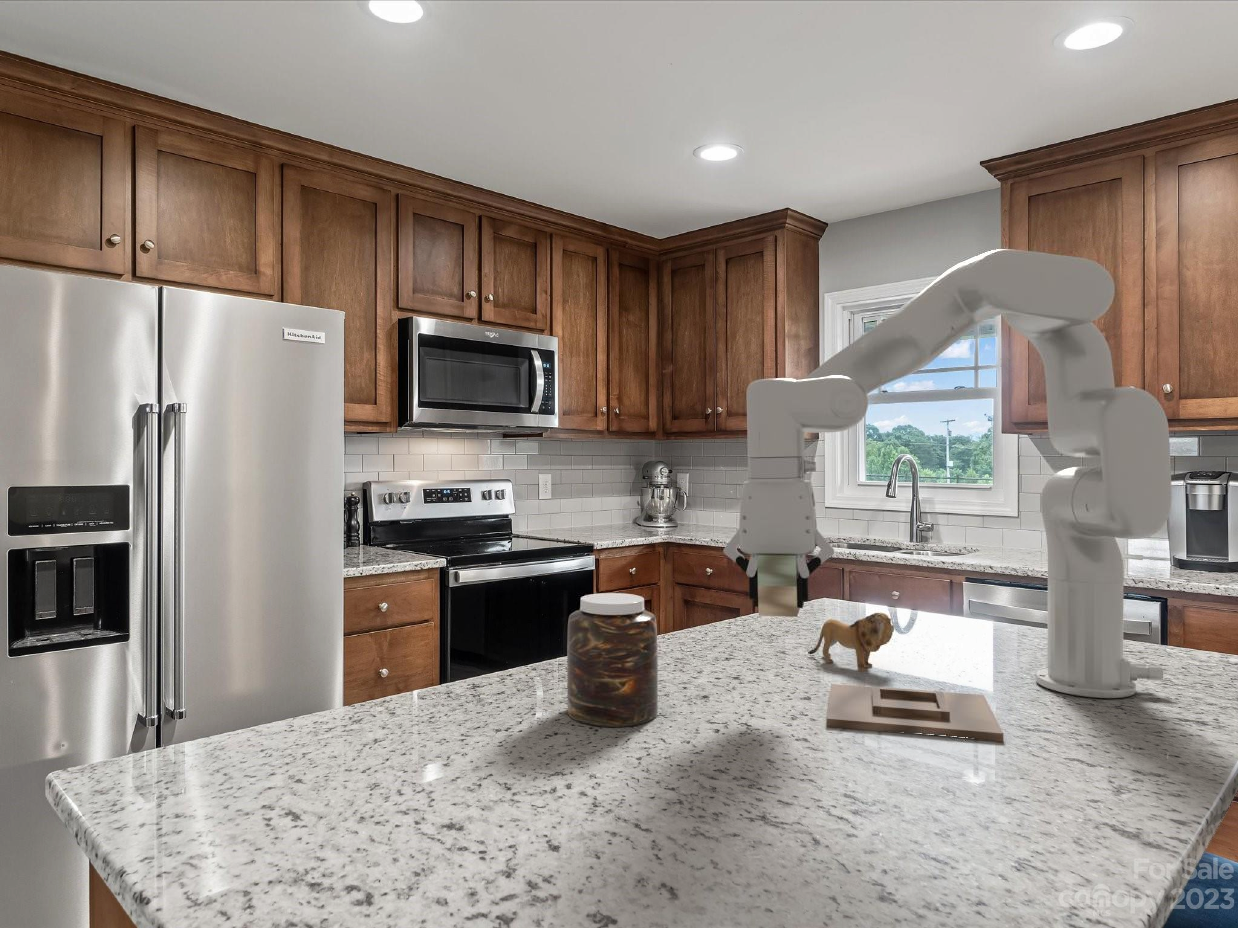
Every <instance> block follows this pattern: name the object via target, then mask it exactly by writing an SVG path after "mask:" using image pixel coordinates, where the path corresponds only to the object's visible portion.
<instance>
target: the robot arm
mask: <svg viewBox="0 0 1238 928" xmlns="http://www.w3.org/2000/svg"><path fill="white" fill-rule="evenodd" d="M1115 287H1116V286H1115V282H1114V279H1113V277H1112V275H1111V274H1110V273H1109V270H1108V269H1106V268H1105V267H1104V266H1102V265H1101V264H1100V263H1098V262H1096V261H1093V260H1091V259H1088V258H1085V257H1077V256H1070V255H1062V254H1055V253H1054V254H1052V253H1047V252H1046V253H1045V252H1039V251H1031V250H1023V249H1022V250H1021V249H1008V248H1006V249H1002V248H1001V249H996V250H995V249H994V250H991V251H987V252H984V253H982V254H979V255H978V256H974V257H972V258H970V259H967V260H965V261H963V262H960V263H958V264H956V265H954V266H953V267H951V268H949V269H947V270H946V271H945V272H944V273H943V274H941V275H940V276H939V277H938V278H936V279H935V280H933V281H932V282H931V283H930V284H929V285H927V286H926V287H924V288H923V289H922V290H921V291H920V292H919V293H917V294H916V295H915V296H914V297H912V298H911V299H910V300H909V301H908V302H906V303H905V304H903V305H902V306H901V307H899V308H898V309H897V310H895V311H894V312H893V313H891V314H890V315H889V316H888V317H886V318H885V319H884V320H883V321H881V322H879V323H878V324H876V325H875V326H874V327H872V328H871V329H868V330H867V331H866V332H865V333H864V334H862V335H861V336H860V337H858V338H857V339H855V341H853V342H852V343H850V344H849V345H847V346H846V347H844V348H842V349H841V350H840V351H838V352H837V353H835V354H833V356H831V357H830V358H829V359H827V360H826V361H825V362H823V363H822V364H821V365H820V366H818V367H817V368H816V369H814V370H813V371H812V372H810V374H808V375H807V376H806V377H804V378H803V379H797V380H796V379H794V378H788V377H787V378H785V377H780V378H778V377H777V378H762V379H757V380H754V381H752V382H750V383H749V385H748V386H747V389H746V428H747V429H746V430H747V431H746V433H747V471H748V473H747V475H748V476H747V477H748V478H747V479H748V480H746V481H744V482H743V485H742V489H741V495H740V496H741V497H740V508H739V520H738V521H739V526H738V530H737V531H736V532H735V534H734V535H733V537H731V539H730V541H728V543H727V544H726V545H725V547H724V548H723V551H722V553H723V554H725V556H727V557H728V558H730V560H732V561H733V562H734V563H736V565H737V566H738V567H739V568H740V569H741V570H743V572H744V573H745V574H746V576H747V577H748V578H749V579H748V580H749V581H748V585H749V586H748V587H749V588H748V589H749V600H753V607H755V608H758V568H757V555H796V563H797V566H798V569H799V573H798V578H797V607H798V608H800V609H803V608H804V605H805V602H808V601H809V597H810V596H809V592H810V591H809V576H811V574H813V573H814V571H816V569H818V568H819V567H820V565H822V564H823V563H824V562H826V561H827V560H828V559H830V558H831V557H833V556H834V553H835V549H834V547H832V545H831V543H829V542H828V541H827V539H826V538H825V537H824V536H823V534H822V533H821V532H820V531H819V530H818V528H817V511H816V503H815V501H816V500H815V495H814V494H815V493H814V489H813V485H812V481H811V480H806V475H807V474H808V473H809V474H810V473H811V472H815V473H816V472H817V462H816V461H810V460H807V459H806V457H805V455H806V454H805V452H806V451H805V433H807V434H819V433H839V432H840V433H841V432H844V431H847V430H850V429H852V428H854V427H856V426H857V425H858V424H860V423H861V421H862V420H863V419H864V417H865V416H866V414H867V412H868V407H869V400H868V399H869V398H868V394H870V393H872V392H873V391H875V390H877V389H879V388H881V387H882V386H885V385H887V384H889V383H891V382H895V381H897V380H900V379H904V378H906V377H908V376H909V375H911V374H913V373H915V372H918V371H919V370H922V369H923V368H924V367H926V366H928V365H930V363H932V362H933V361H934V360H935V359H937V358H938V357H939V356H941V354H943V353H944V352H945V351H946V350H947V349H949V348H950V347H952V345H954V344H955V343H956V342H957V341H958V340H960V339H961V338H963V337H964V336H965V335H966V334H968V333H969V332H970V331H972V330H973V329H974V328H975V327H977V326H978V325H979V324H980V323H982V322H984V321H985V320H987V319H990V318H993V317H994V318H995V317H997V316H1000V315H1001V316H1002V318H1003V320H1004V321H1005V323H1006V324H1007V325H1008V326H1009V327H1010V328H1012V330H1014V331H1015V332H1017V333H1019V334H1020V335H1021V336H1023V337H1024V338H1025V339H1026V340H1028V341H1029V342H1030V343H1031V344H1032V345H1033V346H1034V348H1035V349H1036V351H1037V352H1038V354H1039V355H1040V357H1041V360H1042V364H1043V367H1044V377H1045V387H1046V388H1045V389H1046V390H1045V391H1046V409H1047V410H1046V411H1047V413H1046V415H1047V429H1048V436H1049V441H1050V443H1051V445H1052V447H1053V448H1054V449H1055V450H1056V451H1057V452H1058V453H1060V454H1062V455H1065V456H1068V457H1073V458H1074V457H1075V458H1076V457H1077V458H1098V459H1099V458H1100V465H1101V466H1073V467H1069V468H1065V469H1063V470H1060V471H1057V472H1056V473H1055V474H1053V475H1051V477H1049V478H1048V480H1047V481H1046V482H1045V484H1044V486H1043V488H1042V491H1041V495H1040V510H1041V516H1042V521H1043V525H1044V530H1045V536H1046V538H1045V539H1046V544H1047V545H1046V546H1047V548H1046V549H1047V639H1046V640H1047V642H1046V644H1047V653H1046V654H1047V663H1046V665H1047V667H1046V668H1042V669H1039V670H1038V671H1036V672H1035V682H1036V683H1037V684H1039V685H1040V686H1041V687H1044V688H1046V689H1049V690H1051V691H1055V692H1059V693H1063V694H1068V695H1071V696H1072V695H1073V696H1077V697H1085V698H1086V697H1087V698H1097V699H1118V698H1120V699H1121V698H1127V697H1131V696H1133V695H1134V694H1136V693H1137V684H1136V683H1135V682H1137V680H1138V679H1144V680H1150V681H1160V682H1161V681H1163V679H1164V671H1163V668H1162V666H1160V665H1159V666H1158V665H1147V664H1146V663H1141V662H1139V663H1138V662H1131V661H1130V660H1129V659H1127V658H1126V657H1125V656H1124V587H1125V586H1124V581H1125V577H1124V576H1125V569H1124V568H1125V566H1124V560H1123V557H1122V556H1123V555H1122V553H1121V549H1120V547H1119V544H1118V541H1117V538H1118V539H1124V540H1125V539H1126V540H1141V539H1148V538H1150V537H1152V536H1155V535H1156V534H1157V533H1159V532H1160V531H1161V530H1162V529H1163V527H1164V526H1165V525H1166V523H1167V521H1168V519H1169V516H1170V513H1171V509H1172V508H1171V507H1172V498H1173V497H1172V493H1173V492H1172V472H1171V471H1172V470H1171V447H1170V446H1171V445H1170V444H1171V443H1170V431H1169V421H1168V418H1167V416H1166V413H1165V411H1164V409H1163V406H1162V404H1161V403H1160V402H1159V400H1158V399H1157V398H1156V397H1155V396H1153V394H1151V393H1149V391H1146V390H1145V389H1141V388H1138V387H1134V386H1133V387H1132V386H1120V387H1119V386H1118V387H1116V386H1115V385H1116V384H1115V379H1114V378H1115V377H1114V369H1113V368H1114V367H1113V359H1112V354H1111V353H1112V352H1111V349H1110V347H1109V344H1108V342H1107V339H1106V338H1105V337H1104V335H1103V333H1102V331H1100V329H1099V328H1098V327H1097V326H1096V324H1094V321H1096V320H1098V319H1099V318H1101V317H1102V316H1104V314H1105V313H1106V312H1107V311H1108V310H1109V308H1111V306H1112V303H1113V301H1114V298H1115V292H1116V290H1115V289H1116V288H1115ZM738 547H739V549H740V551H741V552H742V553H743V554H746V555H749V556H750V557H749V559H748V558H747V557H746V556H745V555H743V554H742V553H740V552H739V551H738ZM817 547H818V548H819V549H820V552H818V553H817V554H816V555H815V556H813V557H812V558H811V559H810V560H809V561H808V558H807V556H809V555H810V554H813V553H814V551H815V550H816V548H817Z"/></svg>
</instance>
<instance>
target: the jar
mask: <svg viewBox="0 0 1238 928" xmlns="http://www.w3.org/2000/svg"><path fill="white" fill-rule="evenodd" d="M567 622H568V623H567V642H566V643H567V645H566V648H567V649H566V650H567V653H566V654H567V655H566V656H567V657H566V658H567V659H566V660H567V661H566V665H567V667H566V669H567V670H566V672H567V673H566V674H567V678H566V679H567V683H566V684H567V685H566V686H567V689H566V691H567V693H566V695H567V696H566V697H567V698H566V699H567V701H566V702H567V714H568V716H569V717H570V719H572V720H575V721H576V722H578V723H582V724H585V725H589V726H590V725H591V726H596V727H602V728H603V727H605V728H606V727H607V728H621V727H633V726H638V725H643V724H646V723H649V722H651V721H653V720H654V719H656V717H657V716H658V708H659V707H658V703H659V702H658V701H659V699H658V697H659V696H658V693H659V692H658V690H659V689H658V687H659V685H658V684H659V683H658V678H659V677H658V675H659V669H658V665H659V663H658V660H659V659H658V658H659V657H658V655H659V654H658V626H657V623H658V622H657V618H656V615H655V614H653V613H652V612H650V611H648V610H646V609H645V598H644V597H643V596H641V595H637V594H632V593H622V592H621V593H620V592H618V593H617V592H603V593H602V592H601V593H593V594H592V593H591V594H585V595H584V596H581V597H580V607H579V610H575V611H573V612H572V613H570V614H569V616H568V621H567Z"/></svg>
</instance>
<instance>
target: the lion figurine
mask: <svg viewBox="0 0 1238 928" xmlns="http://www.w3.org/2000/svg"><path fill="white" fill-rule="evenodd" d="M891 621H892V618H890V617H889V615H887V614H886V613H885V612H874V613H872V614H869V615H867V616H865V617H864V618H860V619H857V620H856V621H854V623H853V624H850V625H848V624H845V623H842V622H841V621H840V620H837V619H828V620H827V621H825V622H824V623H823V625H822V627H821V630H820V633H819V639H818V641H817V644H816V646H815V647H814V648H813V649H810V650H809V651H808V652H807V654H809V655H814V654H816V652H817V651H818V650H819V648H820V647H821V644H822V643H823V640H824V643H823V648H822V656H823V658H824V663H826V664H833V663H834V660H833V659H832V658H831V657H832V656H831V653H830V648H831V647H833V646H834V645H836V644H837V643H838V644H839V645H840V646H842V647H843V648H845V649H848V650H849V649H851V650H855V655H856V656H855V657H856V665H857V666H856V667H857V670H858V671H859V672H866V671H867V667H868V668H869V669H871V668H870V667H872V668H873V664H872V663H871V662H869V659H870V656H871V653H874V652H877V651H879V650H880V648H881V647H882V646H884V645H887V644H888V643H889V642H890V640H891V639H892V637H893V633H894V631H895V626H894V625H893V624H892V622H891Z"/></svg>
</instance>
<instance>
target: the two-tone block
mask: <svg viewBox="0 0 1238 928" xmlns="http://www.w3.org/2000/svg"><path fill="white" fill-rule="evenodd" d="M757 568H758V607H757V608H758V616H759V617H788V618H789V617H790V618H791V617H792V618H793V617H794V618H798V615H799V612H800V609H801V608H798V607H797V578H798V573H799V569H798V566H797V563H796V555H757Z"/></svg>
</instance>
